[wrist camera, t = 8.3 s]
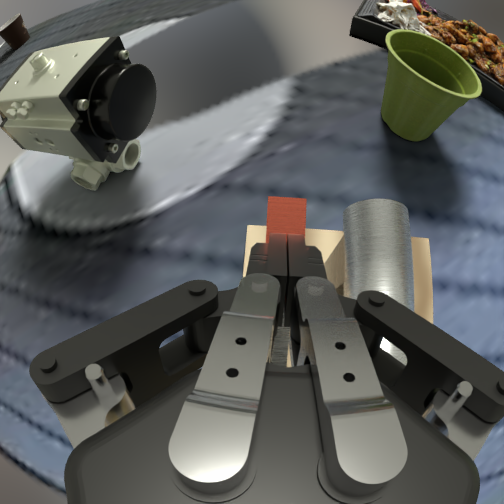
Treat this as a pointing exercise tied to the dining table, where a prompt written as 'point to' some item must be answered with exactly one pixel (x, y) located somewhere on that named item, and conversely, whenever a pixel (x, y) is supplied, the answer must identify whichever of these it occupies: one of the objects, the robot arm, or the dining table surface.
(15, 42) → the coffee mug
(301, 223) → the valve lever
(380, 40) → the food platter
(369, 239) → the valve body
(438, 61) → the plant pot
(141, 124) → the ball valve
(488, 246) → the dining table surface
